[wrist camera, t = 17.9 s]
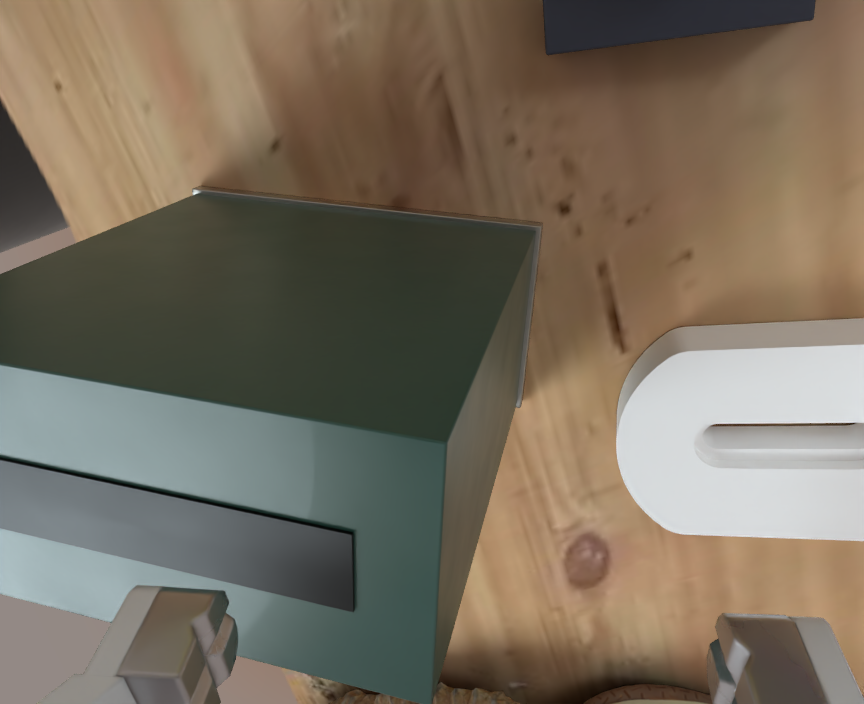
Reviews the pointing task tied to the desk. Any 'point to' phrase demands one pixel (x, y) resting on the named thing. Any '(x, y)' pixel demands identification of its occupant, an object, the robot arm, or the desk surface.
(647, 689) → the boat shoe
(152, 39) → the desk surface
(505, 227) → the toaster
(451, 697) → the brain coral
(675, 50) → the desk surface
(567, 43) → the control block
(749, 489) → the bracket
